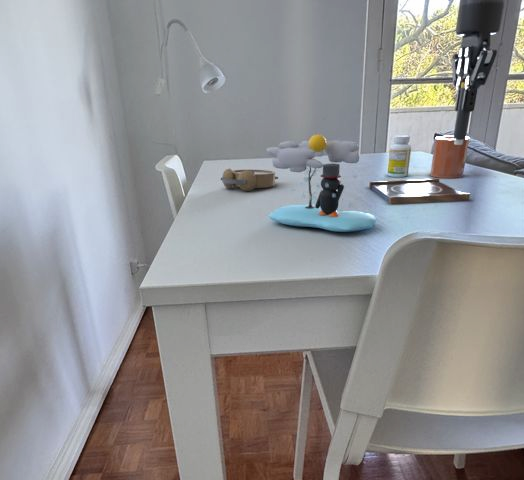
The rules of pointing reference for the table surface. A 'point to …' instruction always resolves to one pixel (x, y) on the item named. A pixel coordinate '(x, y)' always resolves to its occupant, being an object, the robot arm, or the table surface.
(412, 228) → the table surface
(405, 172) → the supplement bottle
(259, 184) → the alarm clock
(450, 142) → the pen cup
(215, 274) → the table surface
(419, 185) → the brown square panel
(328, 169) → the penguin figurine
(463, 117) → the marker
